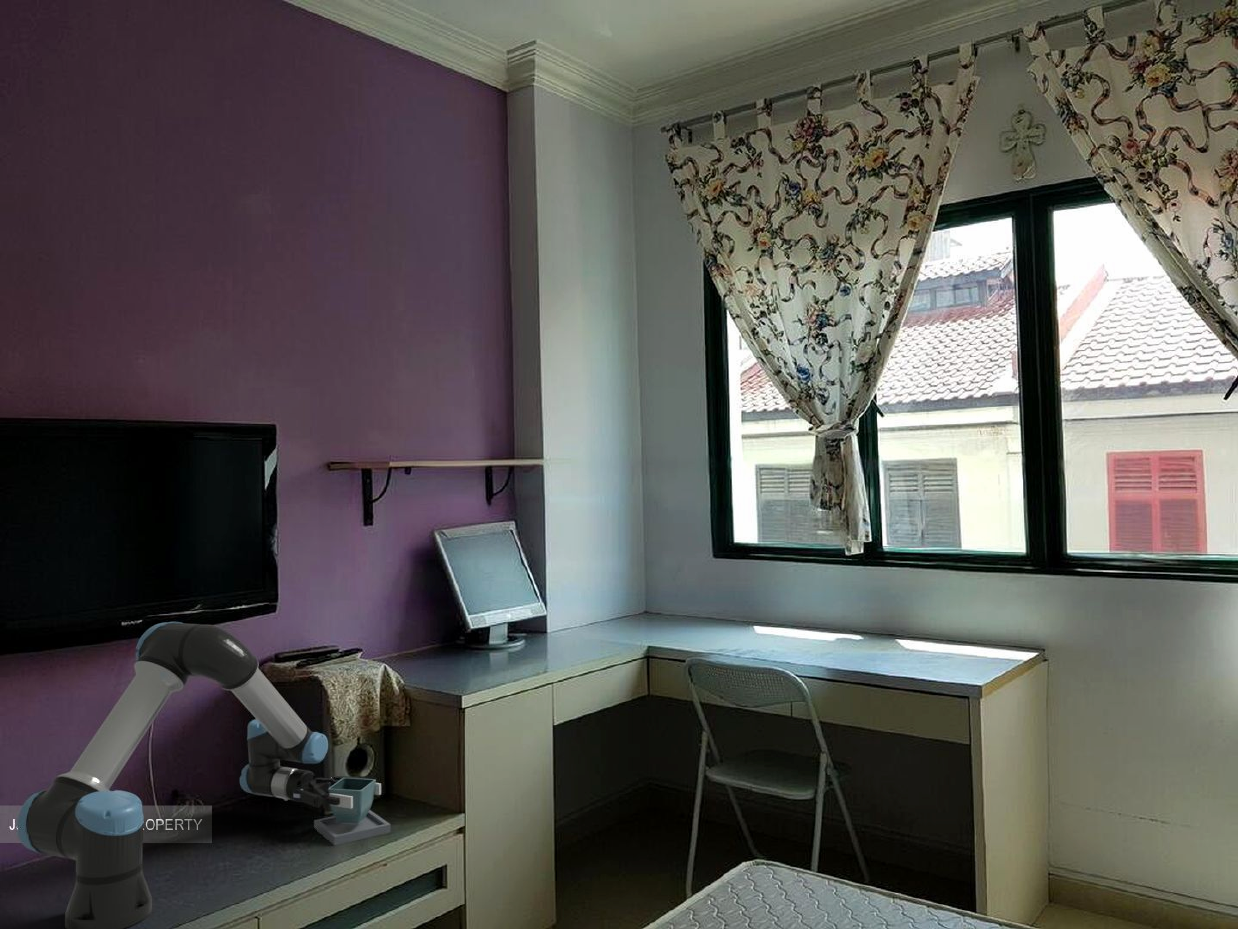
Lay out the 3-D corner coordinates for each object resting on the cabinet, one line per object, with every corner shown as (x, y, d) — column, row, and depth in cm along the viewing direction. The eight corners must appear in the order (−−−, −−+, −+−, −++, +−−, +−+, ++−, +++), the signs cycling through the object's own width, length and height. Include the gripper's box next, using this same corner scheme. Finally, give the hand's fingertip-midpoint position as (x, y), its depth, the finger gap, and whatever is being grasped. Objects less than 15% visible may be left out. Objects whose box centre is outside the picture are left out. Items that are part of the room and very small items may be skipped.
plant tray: (334, 845, 227) (334, 837, 227) (314, 828, 238) (314, 820, 239) (390, 832, 236) (390, 824, 236) (368, 816, 247) (368, 809, 247)
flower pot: (361, 827, 232) (361, 790, 232) (327, 825, 233) (327, 788, 234) (376, 815, 241) (376, 779, 241) (343, 813, 242) (343, 777, 242)
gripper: (325, 786, 255) (394, 797, 246) (261, 813, 234) (335, 826, 225) (325, 758, 255) (394, 767, 246) (262, 782, 234) (335, 794, 225)
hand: (366, 795), depth 235 cm, fingers closed on flower pot, 10 cm apart
